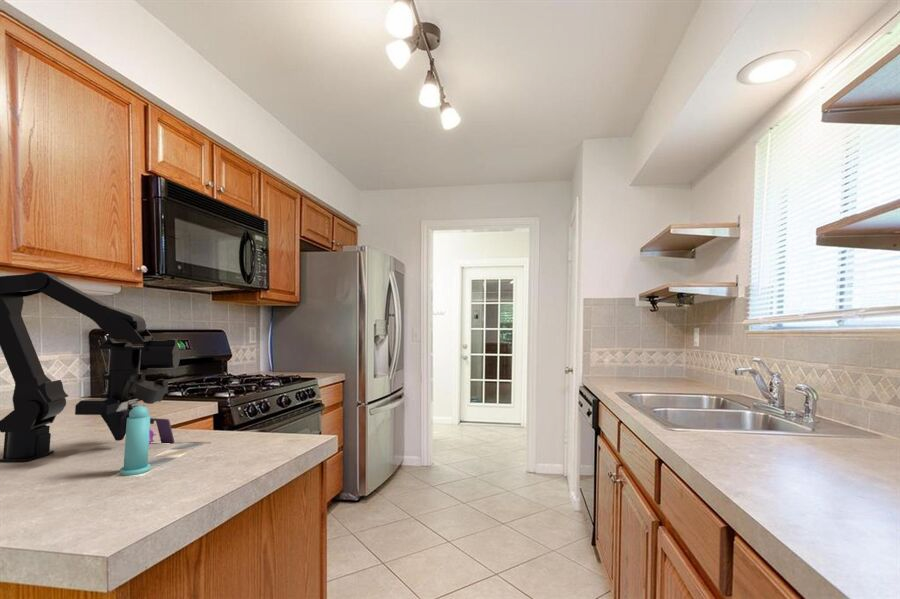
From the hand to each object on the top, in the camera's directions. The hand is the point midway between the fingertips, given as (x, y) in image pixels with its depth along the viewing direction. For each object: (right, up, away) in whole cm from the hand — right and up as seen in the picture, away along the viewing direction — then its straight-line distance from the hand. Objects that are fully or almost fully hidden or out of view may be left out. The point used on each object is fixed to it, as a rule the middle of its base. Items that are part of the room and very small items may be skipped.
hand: (119, 440), depth 95 cm
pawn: (+15, -1, -15) cm, 21 cm away
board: (+13, -2, -6) cm, 15 cm away
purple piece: (+3, -3, +5) cm, 7 cm away
